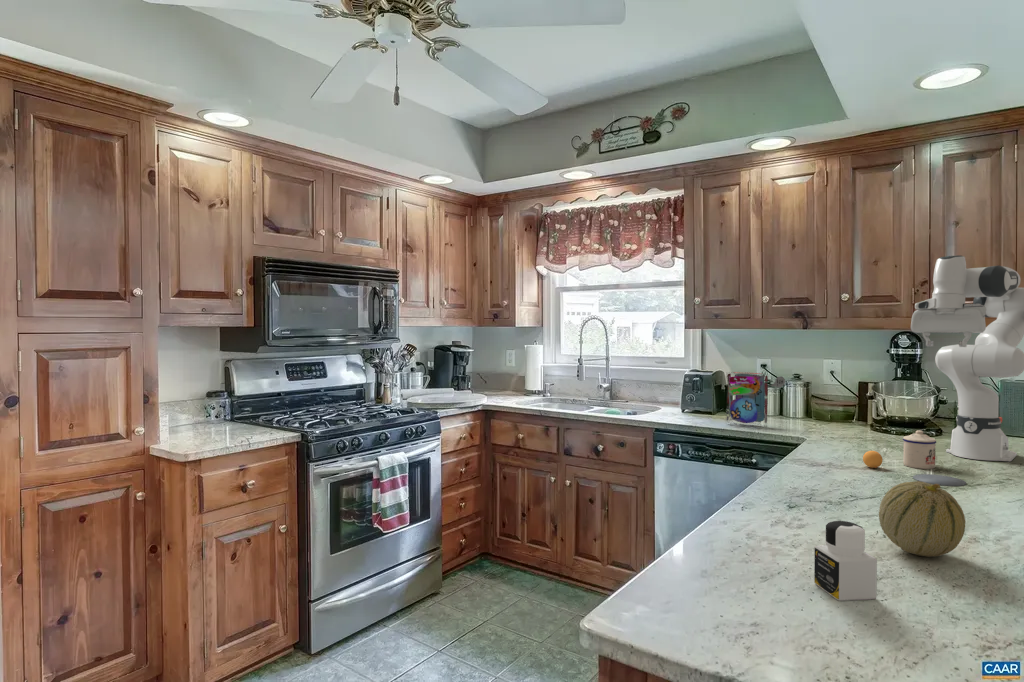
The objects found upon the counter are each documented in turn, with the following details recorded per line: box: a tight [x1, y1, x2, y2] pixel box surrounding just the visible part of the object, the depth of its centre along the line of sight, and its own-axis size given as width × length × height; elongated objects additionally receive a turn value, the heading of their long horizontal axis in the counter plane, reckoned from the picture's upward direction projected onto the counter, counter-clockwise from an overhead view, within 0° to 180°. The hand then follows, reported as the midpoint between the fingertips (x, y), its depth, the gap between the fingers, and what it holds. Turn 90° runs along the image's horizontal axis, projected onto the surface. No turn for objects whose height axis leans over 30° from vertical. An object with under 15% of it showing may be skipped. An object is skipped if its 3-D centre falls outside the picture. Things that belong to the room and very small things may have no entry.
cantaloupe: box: [878, 480, 967, 558], centre depth 123 cm, size 15×15×15 cm
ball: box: [862, 450, 883, 469], centre depth 195 cm, size 6×6×6 cm
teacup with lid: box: [902, 429, 937, 470], centre depth 198 cm, size 12×9×12 cm
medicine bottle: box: [813, 520, 878, 602], centre depth 106 cm, size 7×7×12 cm
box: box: [725, 371, 786, 429], centre depth 272 cm, size 25×6×24 cm, turn 50°
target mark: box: [912, 473, 967, 487], centre depth 179 cm, size 13×13×1 cm
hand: (945, 346), depth 196 cm, fingers open, 8 cm apart
